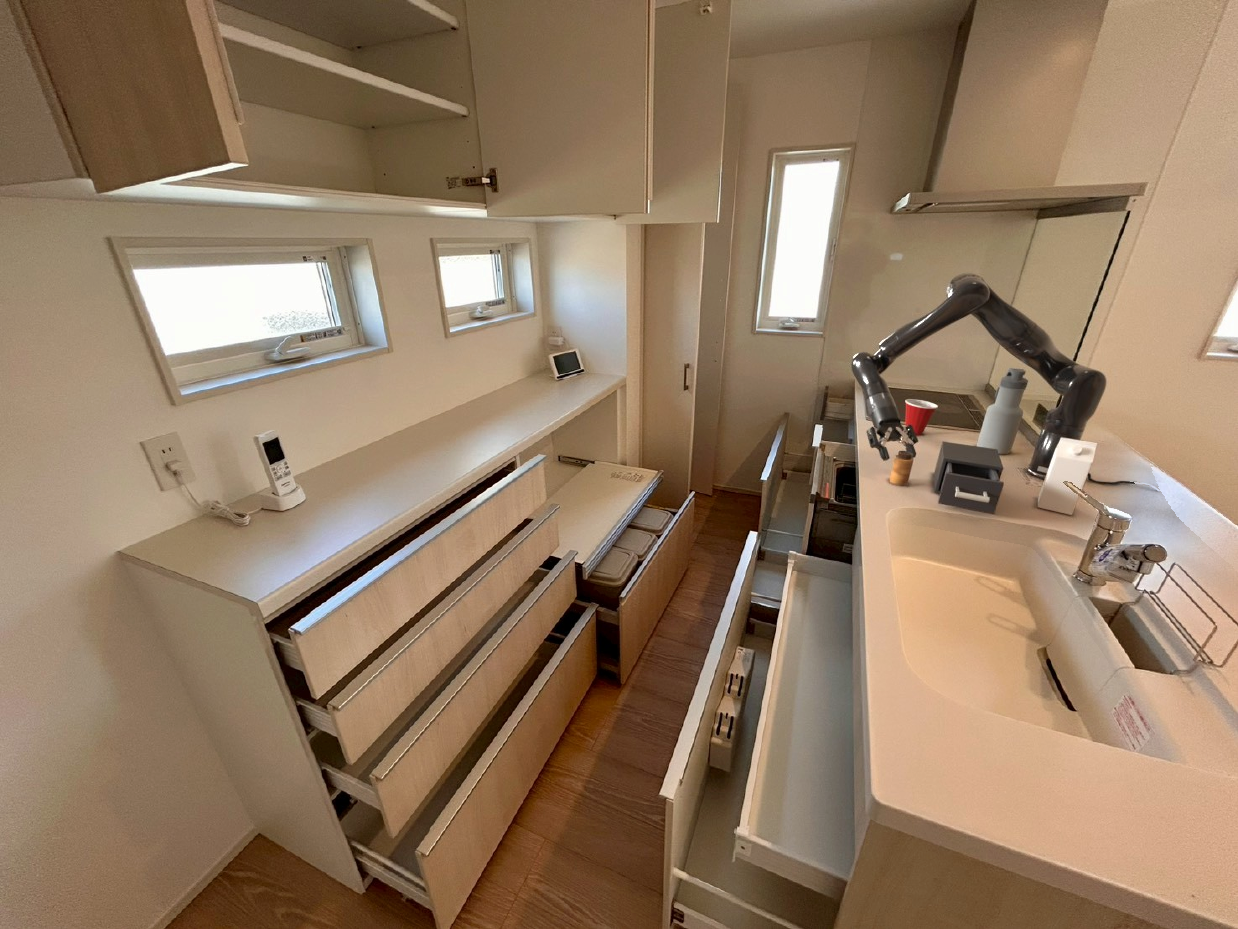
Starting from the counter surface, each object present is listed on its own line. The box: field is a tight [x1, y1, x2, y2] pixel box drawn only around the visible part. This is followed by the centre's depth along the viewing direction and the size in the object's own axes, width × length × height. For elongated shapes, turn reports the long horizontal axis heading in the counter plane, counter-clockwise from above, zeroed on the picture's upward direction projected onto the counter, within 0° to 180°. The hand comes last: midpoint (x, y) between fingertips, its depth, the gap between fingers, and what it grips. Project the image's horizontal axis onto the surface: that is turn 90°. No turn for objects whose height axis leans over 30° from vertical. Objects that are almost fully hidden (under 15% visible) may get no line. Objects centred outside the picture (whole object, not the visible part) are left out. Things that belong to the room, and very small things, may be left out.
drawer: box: [937, 462, 1005, 515], centre depth 133 cm, size 20×12×9 cm, turn 150°
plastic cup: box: [904, 398, 939, 436], centre depth 187 cm, size 11×11×12 cm
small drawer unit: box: [933, 441, 1004, 495], centre depth 143 cm, size 16×14×11 cm
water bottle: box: [976, 367, 1029, 455], centre depth 167 cm, size 10×10×28 cm
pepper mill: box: [889, 450, 915, 487], centre depth 146 cm, size 5×5×10 cm
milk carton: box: [1037, 437, 1098, 516], centre depth 130 cm, size 7×7×19 cm
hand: (899, 458), depth 147 cm, fingers open, 8 cm apart
